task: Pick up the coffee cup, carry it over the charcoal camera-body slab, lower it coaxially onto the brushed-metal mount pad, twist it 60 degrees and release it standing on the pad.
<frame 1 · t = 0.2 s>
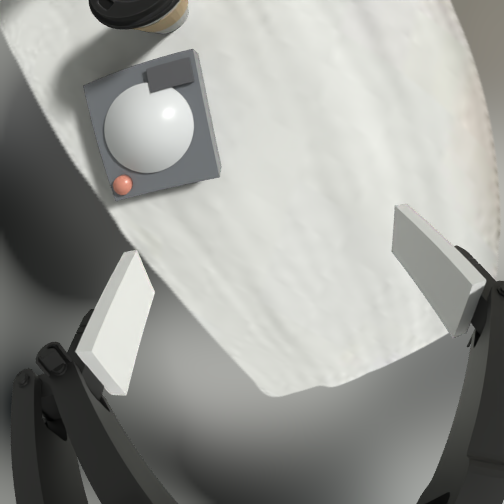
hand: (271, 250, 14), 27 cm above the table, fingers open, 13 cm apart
camera body: (158, 122, 35), on the table
coffee cup: (167, 14, 28), on the table
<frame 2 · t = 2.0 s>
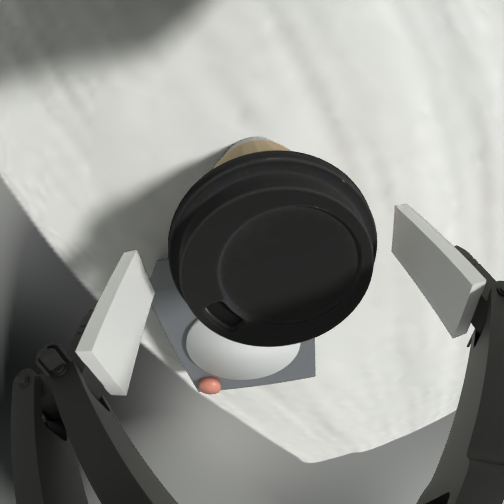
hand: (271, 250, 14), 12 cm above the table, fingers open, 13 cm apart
camera body: (241, 309, 33), on the table
coffee cup: (256, 169, 25), on the table
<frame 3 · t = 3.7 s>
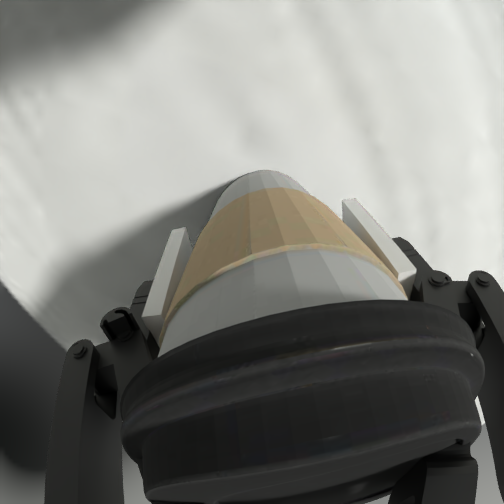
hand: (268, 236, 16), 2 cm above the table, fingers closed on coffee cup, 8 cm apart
coffee cup: (265, 215, 18), on the table, touching gripper
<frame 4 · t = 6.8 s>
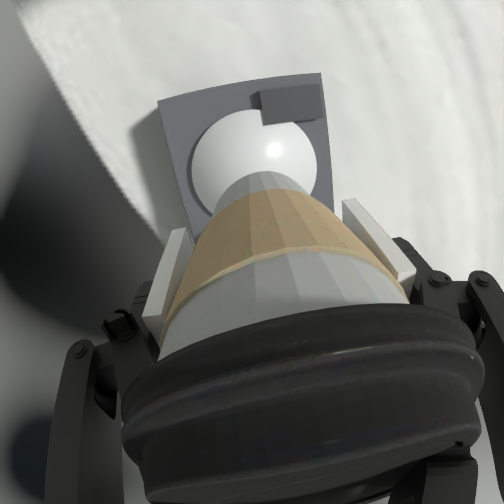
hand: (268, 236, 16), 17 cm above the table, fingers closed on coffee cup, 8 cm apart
camera body: (251, 157, 30), on the table
coffee cup: (265, 216, 18), point 15 cm above the table, touching gripper
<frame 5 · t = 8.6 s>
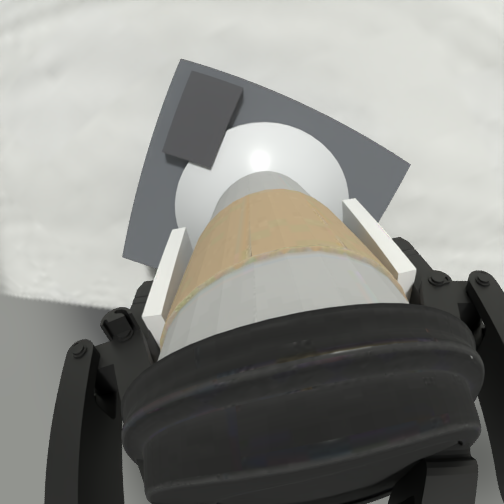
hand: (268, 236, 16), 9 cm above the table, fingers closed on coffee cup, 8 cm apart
camera body: (257, 183, 23), on the table
coffee cup: (265, 216, 18), point 6 cm above the table, touching gripper
when the fingers open (9 cm above the table, at t = 9.7 s): coffee cup stays where it is, resting on camera body.
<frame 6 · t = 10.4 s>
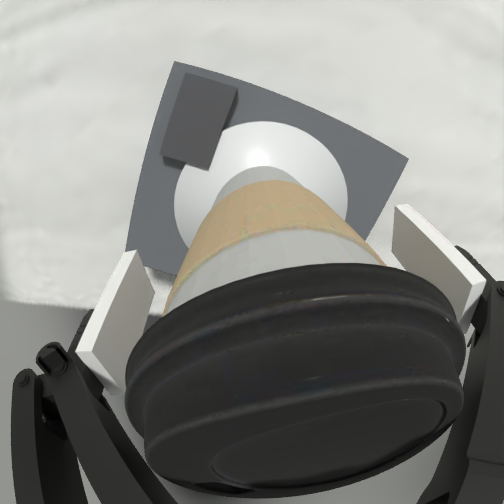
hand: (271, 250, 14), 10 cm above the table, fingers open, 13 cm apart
camera body: (256, 182, 23), on the table
coffee cup: (263, 209, 19), point 5 cm above the table, touching camera body
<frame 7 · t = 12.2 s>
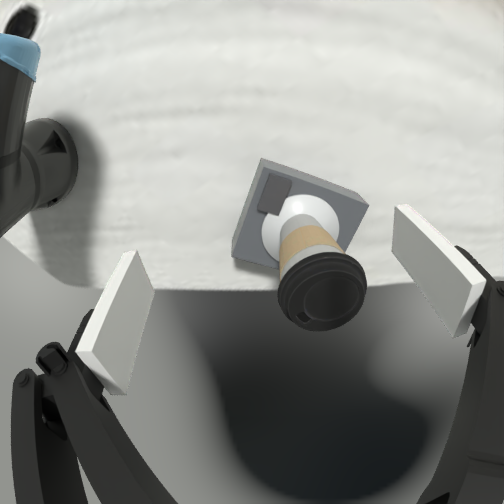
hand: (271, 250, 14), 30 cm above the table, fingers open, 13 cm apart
camera body: (294, 216, 46), on the table
coffee cup: (301, 232, 41), point 5 cm above the table, touching camera body
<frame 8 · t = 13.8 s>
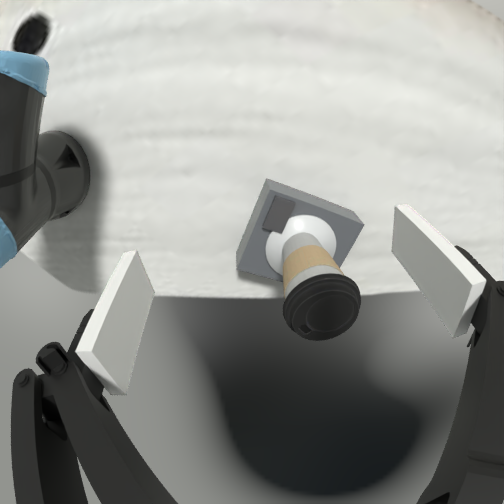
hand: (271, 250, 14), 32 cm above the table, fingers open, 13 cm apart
camera body: (295, 231, 50), on the table
coffee cup: (301, 248, 45), point 5 cm above the table, touching camera body
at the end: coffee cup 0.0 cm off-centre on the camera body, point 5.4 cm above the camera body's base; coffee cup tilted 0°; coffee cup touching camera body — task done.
